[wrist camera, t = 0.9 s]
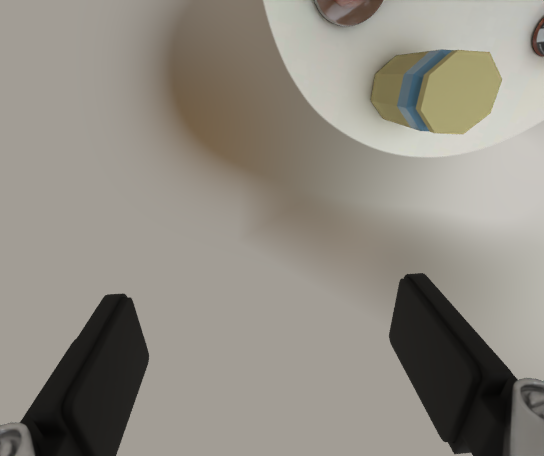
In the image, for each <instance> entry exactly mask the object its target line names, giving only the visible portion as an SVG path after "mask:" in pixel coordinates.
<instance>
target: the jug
mask: <svg viewBox="0 0 544 456" xmlns="http://www.w3.org/2000/svg"><path fill="white" fill-rule="evenodd" d="M382 2H383V0H315V3H316V5H317V7H318V9H319V11H320V12H321V14H322V15H323V16H324V17H325V18H326V19H327V20H328V21H330V22H332V23H334V24H336V25H339V26H353V25H357V24H359V23H361V22H363V21H365V20H367V19H368V18H369V17H371V16H372V15H373V14H374V13H375V12H376V11H377V9H378V8H379V7H380V5H381V4H382Z"/></svg>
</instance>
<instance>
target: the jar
mask: <svg viewBox="0 0 544 456" xmlns="http://www.w3.org/2000/svg"><path fill="white" fill-rule="evenodd" d="M501 82H502V78H501V76H500V73H499V71H498V69H497V67H496V65H495V63H494V60H493V58H492V56H491V54H490V52H479V51H465V50H435V51H427V52H420V53H412V54H404V55H397V56H395V57H394V58H393V59H392V60H391V61H390V62H388V63H387V64H386V65H385V66H384V67H383V68H382V69H381V70H380V71H378V72H377V73H376V74H375V80H374V85H373V91H372V96H371V102H372V103H373V105H374V106H375V108H376V109H377V111H378V112H379V113H380V115H381V116H382V118H383V119H385V120H388V121H392V122H395V123H398V124H401V125H404V126H407V127H410V128H413V129H416V130H419V131H430V132H433V133H444V134H464V133H465V132H467V131H468V130H469V129H471V128H472V127H473V126H475V125H476V124H477V123H478V122H480V121H481V120H482V119H484V118H485V117H486V116H487V115H489V114H490V113H491V110H492V107H493V104H494V102H495V99H496V96H497V93H498V90H499V87H500V85H501Z"/></svg>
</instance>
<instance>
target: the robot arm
mask: <svg viewBox="0 0 544 456" xmlns="http://www.w3.org/2000/svg"><path fill="white" fill-rule="evenodd" d="M389 338H390V342H391V345H392V347H393V349H394V351H395V352H396V354H397V356H398V358H399V360H400V362H401V364H402V366H403V368H404V370H405V371H406V373H407V375H408V377H409V379H410V381H411V383H412V385H413V387H414V388H415V390H416V392H417V394H418V396H419V398H420V400H421V402H422V404H423V405H424V407H425V409H426V411H427V413H428V415H429V417H430V419H431V421H432V422H433V424H434V426H435V428H436V430H437V432H438V434H439V435H440V437H441V439H442V440H443V441H444V442H448V443H449V445H450V447H451V448H452V451H453V452H454V454H461V453H472V455H473V456H544V381H541V380H538V379H532V378H524V379H519V380H517V379H516V377H515V376H514V375H513V374H512V373H511V371H510V370H509V369H508V367H507V366H506V365H505V364H504V363H503V362H502V361H501V360H500V358H499V357H498V356H497V355H496V354H495V353H494V352H493V350H492V349H491V348H490V347H489V346H488V345H487V344H486V343H485V341H484V340H483V339H482V338H481V337H480V336H479V335H478V334H477V332H475V330H474V329H473V328H472V327H471V326H470V325H469V323H468V322H467V321H466V320H465V319H464V318H463V317H462V315H461V314H460V313H459V312H458V311H457V310H456V309H455V308H454V306H452V304H451V303H450V302H449V301H448V300H447V298H446V297H445V296H444V295H443V294H442V293H441V292H440V291H439V289H438V288H437V287H436V286H435V285H434V284H433V283H432V282H431V280H430V279H429V278H428V277H427V276H426V275H425V274H423V273H418V274H407V275H405V277H404V279H401V280H400V282H399V287H398V292H397V298H396V303H395V308H394V312H393V317H392V323H391V328H390V333H389ZM148 360H149V353H148V349H147V346H146V343H145V339H144V336H143V333H142V330H141V326H140V323H139V320H138V317H137V314H136V310H135V307H134V304H133V301H132V299H131V298H127V296H126V295H125V294H110V295H105V296H104V298H103V299H102V301H101V302H100V304H99V305H98V307H97V308H96V310H95V311H94V313H93V314H92V316H91V318H90V319H89V321H88V322H87V324H86V325H85V327H84V328H83V330H82V331H81V333H80V335H79V336H78V337H77V339H75V340H74V342H73V343H72V344H71V346H70V348H69V349H68V350H67V352H66V353H65V355H64V356H63V358H62V359H61V361H60V362H59V364H58V365H57V367H56V369H55V370H54V372H53V373H52V375H51V376H50V378H49V379H48V381H47V382H46V384H45V385H44V387H43V388H42V390H41V391H40V393H39V394H38V396H37V397H36V399H35V400H34V402H33V404H32V405H31V407H30V408H29V410H28V411H27V413H26V414H25V416H24V417H23V419H22V420H21V422H20V423H8V424H4V425H0V456H116V454H117V451H118V448H119V445H120V443H121V440H122V437H123V434H124V431H125V428H126V425H127V422H128V420H129V417H130V414H131V411H132V408H133V405H134V402H135V399H136V396H137V394H138V391H139V388H140V385H141V382H142V379H143V376H144V374H145V371H146V368H147V365H148Z"/></svg>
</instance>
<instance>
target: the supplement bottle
mask: <svg viewBox="0 0 544 456" xmlns="http://www.w3.org/2000/svg"><path fill="white" fill-rule="evenodd" d="M532 44H533V48H534V50H535V52H536V53H537V54H538V55H540V56H543V57H544V18H543V19H542V20H541V22H540V23H539V24H538V26H537V28H536V30H535V32H534V36H533V43H532Z"/></svg>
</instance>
